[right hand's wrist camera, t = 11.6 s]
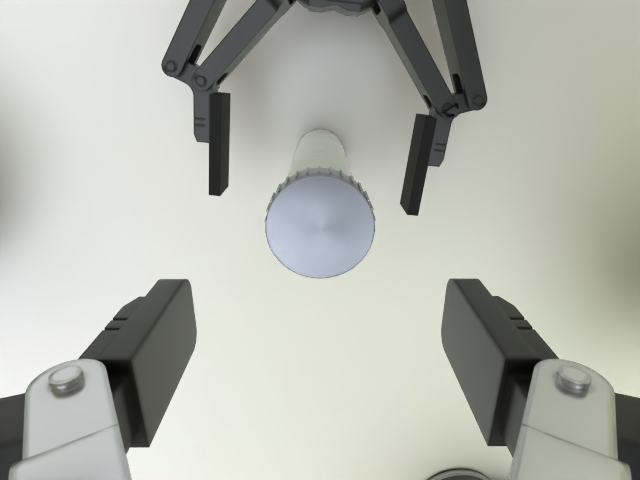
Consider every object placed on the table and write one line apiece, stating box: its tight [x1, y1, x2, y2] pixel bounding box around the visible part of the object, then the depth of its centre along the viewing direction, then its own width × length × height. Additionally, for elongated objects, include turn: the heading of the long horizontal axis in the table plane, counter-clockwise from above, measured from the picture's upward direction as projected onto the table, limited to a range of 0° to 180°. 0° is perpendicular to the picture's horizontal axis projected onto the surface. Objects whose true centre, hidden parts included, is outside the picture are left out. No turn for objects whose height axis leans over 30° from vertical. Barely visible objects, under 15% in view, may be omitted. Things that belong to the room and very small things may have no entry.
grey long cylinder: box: [288, 129, 354, 180], centre depth 26 cm, size 4×4×18 cm
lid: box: [265, 166, 375, 278], centre depth 18 cm, size 5×5×2 cm
